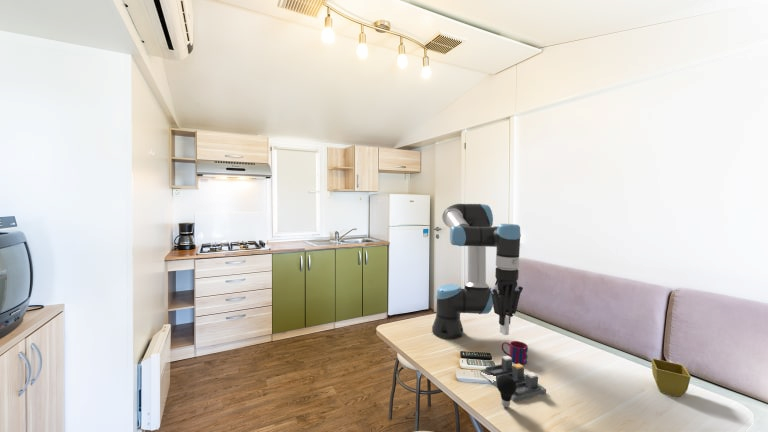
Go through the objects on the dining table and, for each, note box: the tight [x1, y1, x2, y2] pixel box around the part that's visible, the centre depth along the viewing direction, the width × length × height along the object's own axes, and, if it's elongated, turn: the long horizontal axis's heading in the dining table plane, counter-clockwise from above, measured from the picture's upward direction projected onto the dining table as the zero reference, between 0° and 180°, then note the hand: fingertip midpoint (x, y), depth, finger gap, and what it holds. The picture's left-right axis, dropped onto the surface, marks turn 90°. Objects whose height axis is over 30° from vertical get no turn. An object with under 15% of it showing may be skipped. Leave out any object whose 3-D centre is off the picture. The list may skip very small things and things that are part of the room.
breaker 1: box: [500, 355, 513, 370], centre depth 117 cm, size 2×3×4 cm
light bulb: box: [496, 375, 516, 408], centre depth 97 cm, size 6×6×10 cm
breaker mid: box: [512, 363, 525, 379], centre depth 111 cm, size 2×3×4 cm
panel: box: [480, 363, 547, 402], centre depth 111 cm, size 17×14×2 cm
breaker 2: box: [525, 371, 539, 389], centre depth 106 cm, size 2×3×4 cm
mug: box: [501, 340, 529, 366], centre depth 128 cm, size 7×10×7 cm
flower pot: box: [651, 358, 691, 398], centre depth 107 cm, size 9×9×9 cm
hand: (504, 333), depth 109 cm, fingers closed
